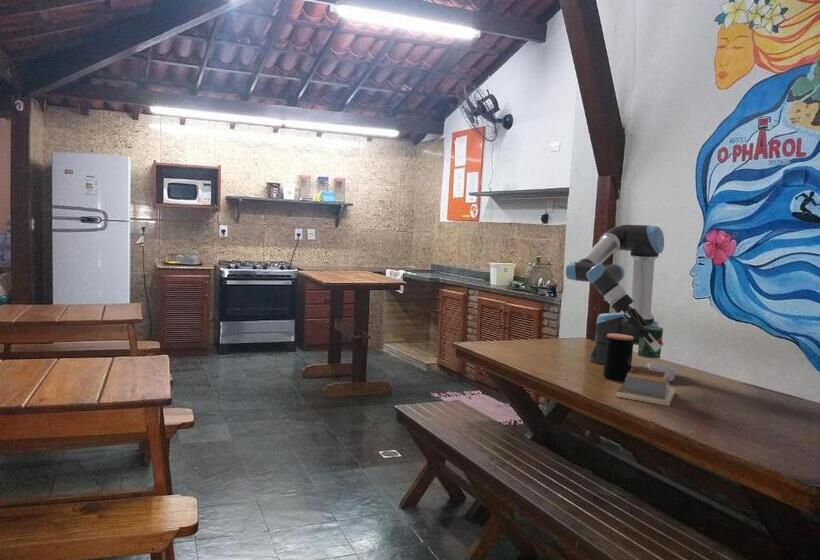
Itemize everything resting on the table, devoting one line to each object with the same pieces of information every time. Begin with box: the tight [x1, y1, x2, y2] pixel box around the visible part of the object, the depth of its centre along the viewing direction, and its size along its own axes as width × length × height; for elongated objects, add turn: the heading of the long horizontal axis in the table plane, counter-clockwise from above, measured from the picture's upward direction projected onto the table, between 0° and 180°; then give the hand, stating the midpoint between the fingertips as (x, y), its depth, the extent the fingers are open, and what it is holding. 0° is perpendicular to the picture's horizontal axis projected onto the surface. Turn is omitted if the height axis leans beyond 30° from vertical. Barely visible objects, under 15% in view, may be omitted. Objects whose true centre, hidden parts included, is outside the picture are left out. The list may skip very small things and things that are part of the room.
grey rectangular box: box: [615, 367, 676, 407], centre depth 225 cm, size 22×18×8 cm
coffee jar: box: [602, 333, 634, 382], centre depth 249 cm, size 11×11×18 cm
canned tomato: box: [637, 326, 664, 360], centre depth 224 cm, size 8×8×11 cm
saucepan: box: [631, 363, 677, 382], centre depth 253 cm, size 12×20×6 cm, turn 101°
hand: (659, 347), depth 222 cm, fingers closed on canned tomato, 8 cm apart
